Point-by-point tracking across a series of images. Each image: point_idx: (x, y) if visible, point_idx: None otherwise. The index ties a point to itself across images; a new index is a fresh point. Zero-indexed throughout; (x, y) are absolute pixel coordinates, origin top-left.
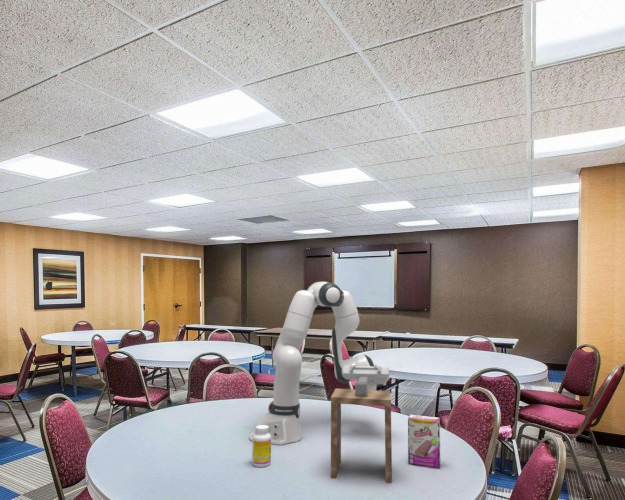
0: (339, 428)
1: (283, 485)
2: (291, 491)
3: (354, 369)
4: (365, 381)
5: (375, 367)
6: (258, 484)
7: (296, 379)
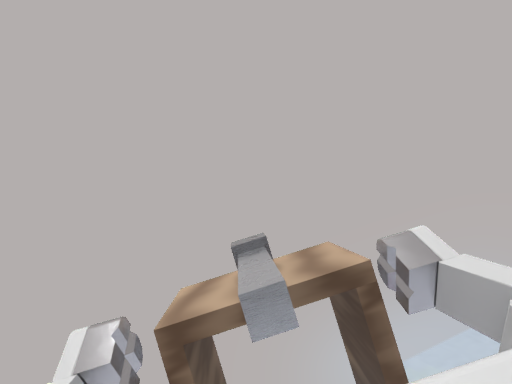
0: (368, 373)
1: (448, 367)
2: (416, 363)
3: (417, 307)
4: (242, 265)
5: (127, 343)
6: (490, 348)
7: None
